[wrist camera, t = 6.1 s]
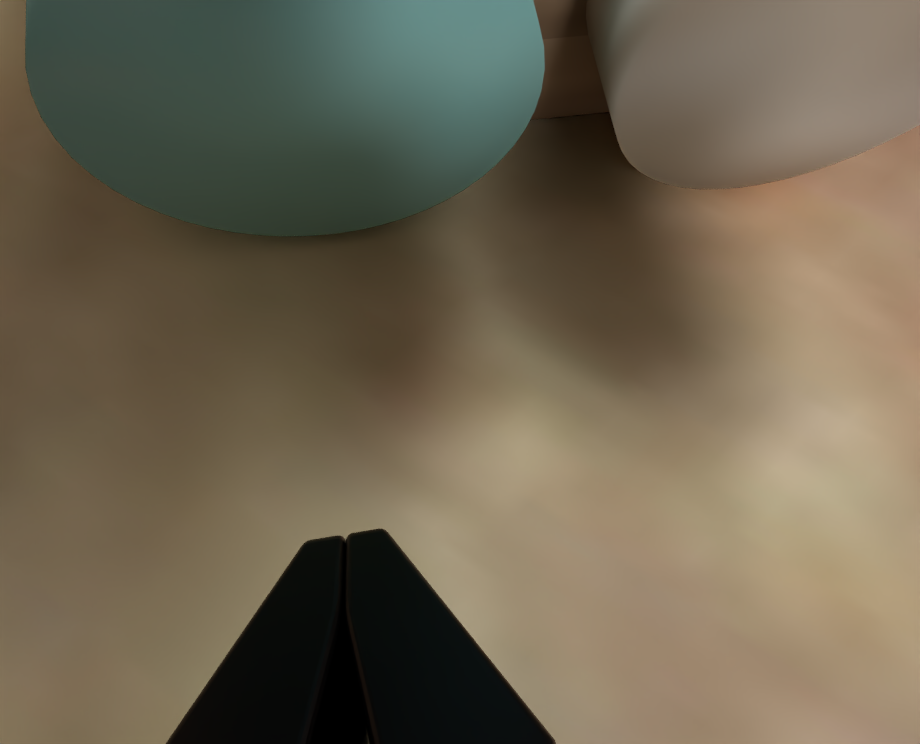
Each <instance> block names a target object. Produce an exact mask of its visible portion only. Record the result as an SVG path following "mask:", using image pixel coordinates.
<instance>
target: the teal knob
mask: <svg viewBox="0 0 920 744" xmlns="http://www.w3.org/2000/svg"><path fill="white" fill-rule="evenodd" d="M25 62H26V73H27V77H28V82H29V86H30V91H31V95H32V97H33V99H34V102H35V104H36V106H37V108H38V111H39V113H40V115H41V118H42V119H43V121H44V122H45V124H46V125H47V127H48V128H49V130H50V131H51V133H52V134H53V136H54V137H55V139H56V140H57V141H58V142H59V143H60V145H61V146H62V147H63V148H64V149H65V150H66V151H67V152H68V154H69V155H70V156H71V157H72V158H73V159H74V160H75V161H76V162H78V163H79V164H80V165H81V166H82V167H83V168H84V169H86V170H87V171H88V172H89V173H90V174H91V175H93V176H94V177H96V178H97V179H98V180H100V181H101V182H103V183H104V184H106V185H107V186H109V187H110V188H112V189H113V190H115V191H116V192H118V193H120V194H122V195H124V196H126V197H127V198H129V199H131V200H133V201H135V202H136V203H139V204H141V205H143V206H146V207H148V208H150V209H152V210H155V211H157V212H159V213H162V214H165V215H168V216H171V217H174V218H177V219H179V220H182V221H185V222H189V223H193V224H197V225H201V226H205V227H209V228H214V229H219V230H225V231H230V232H236V233H245V234H253V235H265V236H315V235H326V234H336V233H343V232H349V231H356V230H361V229H365V228H370V227H375V226H379V225H383V224H386V223H390V222H393V221H396V220H400V219H403V218H406V217H408V216H411V215H414V214H416V213H419V212H422V211H424V210H426V209H428V208H431V207H433V206H435V205H437V204H439V203H441V202H443V201H445V200H447V199H449V198H451V197H452V196H454V195H456V194H457V193H459V192H461V191H463V190H464V189H466V188H467V187H469V186H470V185H471V184H473V183H474V182H476V181H477V180H478V179H480V178H481V177H483V176H484V175H485V174H486V173H487V172H488V171H489V170H491V169H492V168H493V167H494V166H495V165H496V164H498V163H499V161H500V160H501V159H502V158H503V157H504V156H505V155H506V154H507V153H508V152H509V151H510V149H511V148H512V147H513V146H514V144H515V143H516V142H517V140H518V139H519V137H520V136H521V135H522V133H523V132H524V130H525V129H526V127H527V125H528V123H529V121H530V119H531V117H532V115H533V113H534V111H535V108H536V105H537V102H538V99H539V97H540V94H541V90H542V84H543V77H544V71H545V62H544V44H543V39H542V35H541V30H540V26H539V21H538V17H537V13H536V9H535V5H534V1H533V0H26V39H25Z"/></svg>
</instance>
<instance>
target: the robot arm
mask: <svg viewBox="0 0 920 744" xmlns="http://www.w3.org/2000/svg"><path fill="white" fill-rule="evenodd" d="M166 744H556V742H555V740H554V739H553V737H552V736H551V735H550V734H549V732H548V731H547V730H546V729H545V727H544V726H543V725H542V724H541V722H540V721H539V720H538V719H537V718H536V716H535V715H534V714H533V713H532V711H531V710H530V709H529V708H528V706H527V705H526V704H525V703H524V701H523V700H522V699H521V698H520V696H519V695H518V694H517V693H516V691H515V690H514V689H513V688H512V686H511V685H510V684H509V683H508V681H507V680H506V679H505V678H504V676H503V675H502V674H501V673H500V671H499V670H498V669H497V668H496V666H495V665H494V664H493V663H492V661H491V660H490V659H489V658H488V656H487V655H486V654H485V653H484V651H483V650H482V649H481V648H480V646H479V645H478V644H477V643H476V642H475V640H474V639H473V638H472V637H471V635H470V634H469V633H468V632H467V630H466V629H465V628H464V627H463V625H462V624H461V623H460V622H459V620H458V619H457V618H456V617H455V615H454V614H453V613H452V612H451V610H450V609H449V608H448V607H447V605H446V604H445V603H444V602H443V600H442V599H441V598H440V597H439V595H438V594H437V593H436V592H435V590H434V589H433V588H432V587H431V585H430V584H429V583H428V582H427V580H426V579H425V578H424V577H423V575H422V574H421V573H420V572H419V571H418V569H417V568H416V567H415V566H414V564H413V563H412V562H411V561H410V559H409V558H408V557H407V556H406V554H405V553H404V552H403V551H402V549H401V548H400V547H399V546H398V544H397V543H396V542H395V541H394V539H393V538H392V537H391V536H390V534H389V533H388V532H387V531H386V530H384V529H374V530H368V531H362V532H356V533H351V534H350V535H348V537H347V539H346V540H345V539H344V537H342V536H332V537H325V538H319V539H313V540H309V541H307V542H305V543H304V544H303V545H302V546H301V548H300V549H299V551H298V552H297V554H296V555H295V557H294V558H293V559H292V561H291V562H290V564H289V565H288V567H287V568H286V570H285V571H284V573H283V574H282V575H281V577H280V578H279V580H278V581H277V583H276V584H275V586H274V587H273V589H272V590H271V591H270V593H269V594H268V596H267V597H266V599H265V600H264V602H263V603H262V605H261V606H260V607H259V609H258V610H257V612H256V613H255V615H254V616H253V618H252V619H251V621H250V622H249V623H248V625H247V626H246V628H245V629H244V631H243V632H242V634H241V635H240V636H239V638H238V639H237V641H236V642H235V644H234V645H233V647H232V648H231V650H230V651H229V652H228V654H227V655H226V657H225V658H224V660H223V661H222V663H221V664H220V666H219V667H218V668H217V670H216V671H215V673H214V674H213V676H212V677H211V679H210V680H209V682H208V683H207V684H206V686H205V687H204V689H203V690H202V692H201V693H200V695H199V696H198V698H197V699H196V700H195V702H194V703H193V705H192V706H191V708H190V709H189V711H188V712H187V714H186V715H185V716H184V718H183V719H182V721H181V722H180V724H179V725H178V727H177V728H176V730H175V731H174V732H173V734H172V735H171V737H170V738H169V740H168V741H167V743H166Z"/></svg>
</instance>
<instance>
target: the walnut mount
mask: <svg viewBox="0 0 920 744" xmlns="http://www.w3.org/2000/svg"><path fill="white" fill-rule="evenodd" d="M533 1H534V5H535V9H536V13H537V17H538V21H539V26H540V30H541V35H542V39H543V44H544V62H545V71H544V77H543V84H542V90H541V94H540V97H539V99H538V102H537V105H536V108H535V111H534V113H533V115H532V117H531V119H530V120H534V119H544V118H553V117H563V116H573V115H583V114H592V113H602V112H610V115H611V119H612V123H613V126H614V130H615V133H616V137H617V140H618V143H619V146H620V149H621V151H622V153H623V154H624V156H625V157H626V159H627V160H628V162H629V163H630V164H631V165H632V166H634V167H635V168H636V169H637V170H638V171H639V172H641V173H642V174H644V175H646V176H648V177H649V178H651V179H654V180H656V181H659V182H662V183H664V184H668V185H673V186H677V187H682V188H692V189H729V188H740V187H747V186H754V185H760V184H765V183H770V182H774V181H779V180H784V179H787V178H791V177H795V176H798V175H802V174H805V173H809V172H812V171H815V170H818V169H821V168H824V167H827V166H830V165H833V164H835V163H838V162H841V161H843V160H846V159H848V158H851V157H854V156H856V155H858V154H861V153H863V152H865V151H868V150H870V149H872V148H874V147H877V146H879V145H881V144H883V143H885V142H887V141H889V140H891V139H893V138H895V137H897V136H899V135H901V134H903V133H905V132H907V131H909V130H911V129H913V128H915V127H917V126H918V125H920V0H533Z"/></svg>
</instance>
